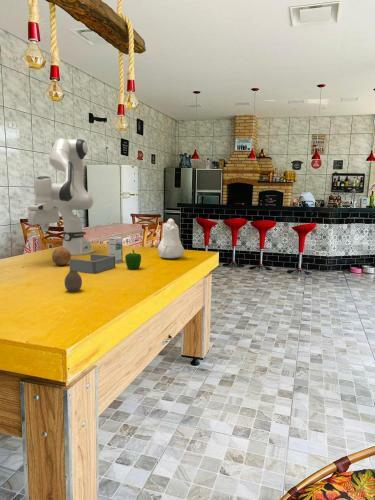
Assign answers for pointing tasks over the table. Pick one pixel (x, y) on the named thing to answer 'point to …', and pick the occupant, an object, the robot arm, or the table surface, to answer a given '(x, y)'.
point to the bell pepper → (133, 260)
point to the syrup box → (115, 248)
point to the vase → (73, 281)
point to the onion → (61, 256)
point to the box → (93, 264)
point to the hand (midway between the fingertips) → (44, 231)
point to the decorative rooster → (170, 241)
